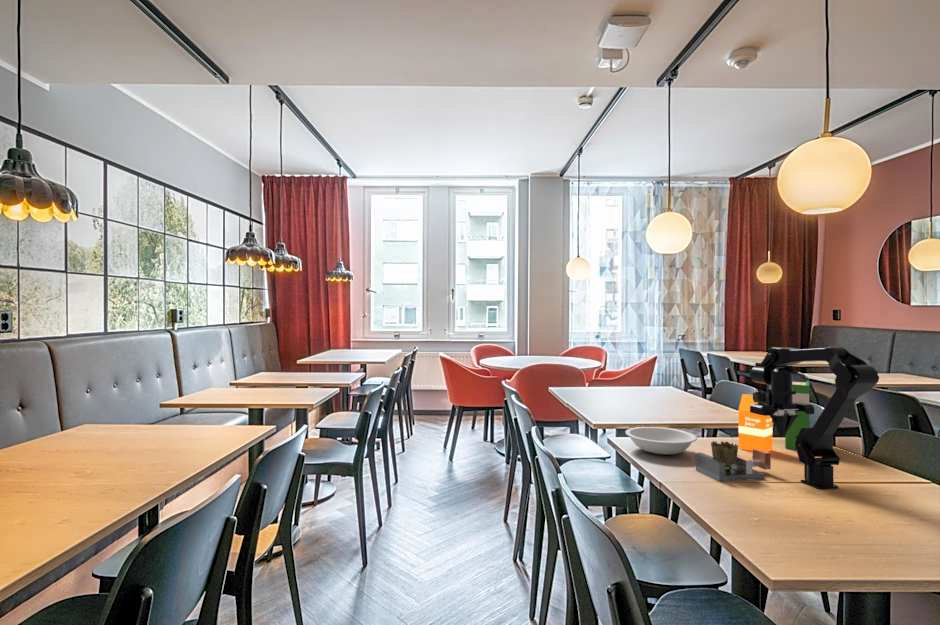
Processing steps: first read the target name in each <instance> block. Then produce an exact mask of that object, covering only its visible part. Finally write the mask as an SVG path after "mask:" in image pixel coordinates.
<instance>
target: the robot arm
mask: <svg viewBox="0 0 940 625" xmlns="http://www.w3.org/2000/svg"><path fill="white" fill-rule="evenodd" d="M823 361H824V362H826V363H828V366H829V370H830V371H831V373H833V374H834V375H835V379H834V383H835V390H834V392H833V394H832V395H831V397H830V399H828V402H827V404H826V405H825V407H824V409H823V410H822V411H821V414H819V417H818V418H817V420H816V421H815V423H814V425H813V426H812V427H810V428H802V429H801V430H800V432H799V434H798V436H796V437H795V438H796V439H797V440H796V442H795V445H796V450H795V451H796V453H797V456H798V460H799V462H800V463H801V464H803V466H804V468H803V469H804V475H803V476H804V477H803V478H804V479H800V482H801V483H802V484H803V483H804V484H805V485H808V486H811V487H814V488H815V489H816V488H817V489H820V490H822V489H823V490H825V489H826V490H827V489H836V488H839V485H837V484H834V466H839V465H840V462H841V457H840V456H839V455H838V454H837V452H836V451H835V450H834V448H833V447H834V444H835V443H834V437H833V436H834V434H835V433H836V431H837V429H838V428H839V427H840V425H841V423H842V421H843V420H844V419H845V417H846V416H847V415H848V413H849V412H850V409H851V408H852V406H853V405H854V404H855V402H856V401H857V399H858V398H860V397H861V396H863V395H864V394H866V393H868V392H869V391H871V390H872V389H873V388H874V387H875V386H876V385H877V384H878V382H879V379H880V375H879V373H878V372H877V370H876V369H875V367H874V366H872V365H870V364H868V363H867V362H866V361H865V360H863V359H862V358H859V357H858V356H856V355H854V354H852V353H851V352H850V351H849V350H847V348H844V347H842V346H827V347H819V348H803V349H800V348H797V347H792V346H791V347H788V346H787V347H786V346H784V347H783V346H781V347H780V346H779V347H777V346H776V347H775V346H774V347H770V348H768V351H767V352H766V355H765V356H764V358H763V360H762V361H761V362H755V363H754V367H752V368H751V369H750V372H749V378H750V380H751V381H752V382H754V383H757V384H761V385H762V384H763V385H769V386H770V388H768V389H767V393H762V392H761V391H757V392H756V391H755V392H753V393H752V395H753V401H754V402H755V403H758V404H752V405H751V406H750V412H751V413H754V414H758V415H763V416H770V417H771V418H772V422H773V423H774V425H775V427H776V430H777V432H778V435H779V436H780V437H784V438H785V435H786V433H787V431H788V430H789V428H790V426H791V425H792V423H793V422H794V421H795V419H796V418H797V417H799V415H795V411H803V412H805V414H810V415H815V407H814V406H813V404H811V403H809V404H805V403H800V402H797V403H793V394H796V391H793V384H792V382H793V374H794V375H798V374H799V371H798V370H797V369H796V368H795V367H794V366H795V365H797V364H800V363H802V362H823Z"/></svg>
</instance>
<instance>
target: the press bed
mask: <svg viewBox="0 0 940 625" xmlns="http://www.w3.org/2000/svg"><path fill="white" fill-rule="evenodd" d="M695 470H696V472H699V473H701V474H702V475H705V476H707V477H709V478H711V479H714V480H715V481H717V482H719V481H720V482H734V481H736V480H737V481H745V480H746V481H748V480H747V479H753V480H764V479H765V473H763V472H761V471H758V470H755V469H753V468H752V474H745V473H742V472H740V471H738V470H735V469H733V468H731V470H730V471H725V462H723V461H720V460H718V459H716V458H713V456H712V455H711V456H710V455H709V454H706V453H703V452H695Z"/></svg>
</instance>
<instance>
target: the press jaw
mask: <svg viewBox="0 0 940 625" xmlns="http://www.w3.org/2000/svg"><path fill="white" fill-rule="evenodd" d="M771 464H772V463H771V452H766V451H763V450H760V449H753V452H752V459H749V458H747V457H744V456H741V455H739V454H737V459H736V462H735V464H733V465H731V468H733V469H735V470H738V471H740V472H742V473H745V474H752V469H753V468H754V467H756V468H757V467H758V468H760V469H763V470H771V467H772V465H771Z"/></svg>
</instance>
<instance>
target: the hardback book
mask: <svg viewBox="0 0 940 625" xmlns="http://www.w3.org/2000/svg"><path fill="white" fill-rule="evenodd" d="M792 384H793V391H796V394H793V403H797V402H800V403H805V404H810V380H806V381H805V382H803V381H792ZM795 415H799V417H797V418H796V419H795V421H794V422H793V423H792V425H791V426H790V428H789V430H788V431H787V433H786V435H785V436H784V439H785V441H784V442H785V444H784V445H785V448H788V449H787V450H792V449H794V450H793V451H797V450H796V445H795V442H796V440H797V439H796V438H795V437H796V436H798V434H799V432H800V430H801V429H802V428H811V427H810V416H811V414H805V412H803V411H795Z"/></svg>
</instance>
